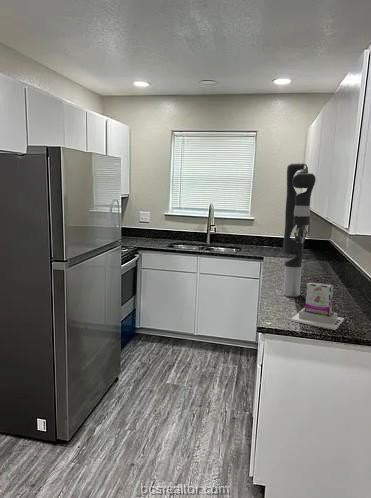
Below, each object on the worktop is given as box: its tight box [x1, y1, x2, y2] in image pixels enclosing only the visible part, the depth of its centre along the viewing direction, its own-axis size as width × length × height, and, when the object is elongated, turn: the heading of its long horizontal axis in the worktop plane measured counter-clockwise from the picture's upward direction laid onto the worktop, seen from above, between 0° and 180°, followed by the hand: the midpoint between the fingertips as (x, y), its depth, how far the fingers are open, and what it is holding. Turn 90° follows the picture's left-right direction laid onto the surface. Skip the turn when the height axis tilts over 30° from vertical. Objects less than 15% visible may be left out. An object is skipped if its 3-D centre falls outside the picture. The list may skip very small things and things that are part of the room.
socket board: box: [290, 306, 345, 331], centre depth 174 cm, size 16×20×4 cm
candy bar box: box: [304, 281, 334, 317], centre depth 173 cm, size 11×5×16 cm, turn 55°
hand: (299, 250), depth 184 cm, fingers closed
